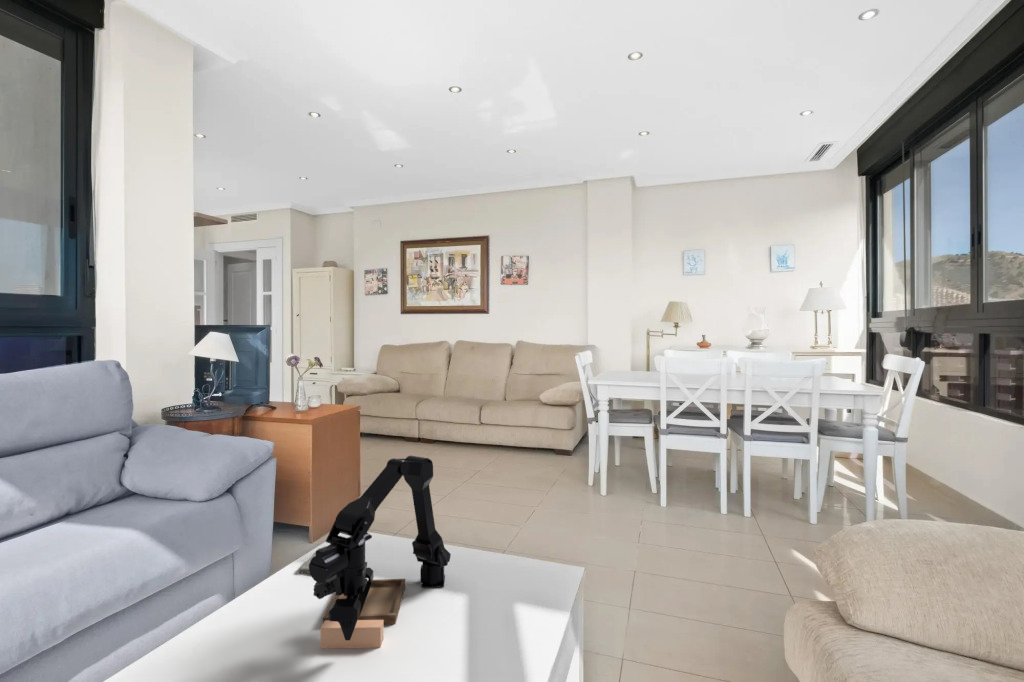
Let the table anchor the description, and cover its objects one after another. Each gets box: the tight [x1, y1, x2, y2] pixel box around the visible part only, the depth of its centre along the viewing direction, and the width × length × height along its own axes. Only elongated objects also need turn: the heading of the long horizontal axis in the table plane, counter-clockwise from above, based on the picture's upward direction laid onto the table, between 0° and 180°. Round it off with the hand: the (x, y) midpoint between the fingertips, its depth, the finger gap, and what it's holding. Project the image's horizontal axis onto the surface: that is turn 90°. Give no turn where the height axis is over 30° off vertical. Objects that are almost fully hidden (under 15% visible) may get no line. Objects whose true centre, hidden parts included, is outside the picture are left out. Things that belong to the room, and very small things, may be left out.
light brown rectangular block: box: [320, 620, 385, 649], centre depth 116 cm, size 14×3×5 cm, turn 92°
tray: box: [322, 578, 406, 625], centre depth 132 cm, size 18×18×2 cm
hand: (352, 627), depth 116 cm, fingers open, 9 cm apart
